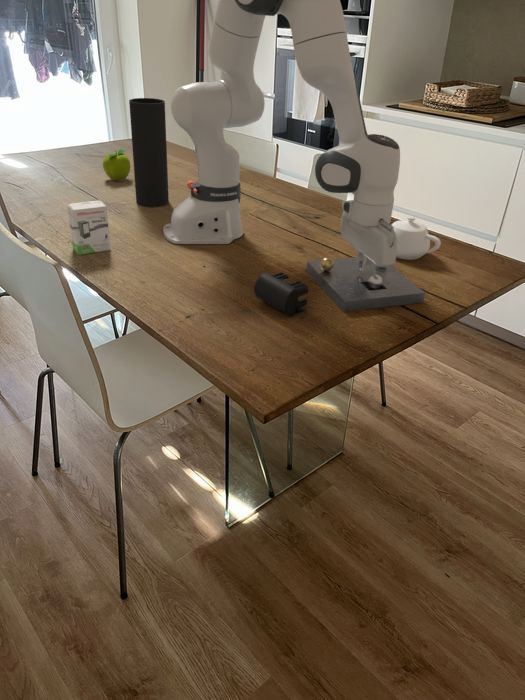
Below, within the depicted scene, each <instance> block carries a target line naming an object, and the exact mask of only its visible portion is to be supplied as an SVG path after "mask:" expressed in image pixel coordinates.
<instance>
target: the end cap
mask: <svg viewBox="0 0 525 700" xmlns="http://www.w3.org/2000/svg"><path fill="white" fill-rule="evenodd" d="M287 279H290V275H288V274H286V273H284V272H282V271H279V272H277V273H275V274H269V273H267V272H264V273H262V274H260V275H259V277H258V278H257V279H256V280H255V283H254V286H253V290H254V291H253V292H254V294H255V297H256V298H258V299H259V300H261V301H262V302H264V303H266V304H268V305H269V306H270V307H273V308H275V309H276V310H278V311H280V312H282V313H283V314H285V315H287V316H289V317H295V316H297V315H300V314H302V313H304V312H305V311H306V308H305V306H306V305H307V304H308V298H303V299H299V298H300V297H302V296H305V295H307V294H308V293H309V286H308V285H307V284H306V283H303V282H302V281H300V280H297V281H294V282H285V281H284V280H287Z"/></svg>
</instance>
